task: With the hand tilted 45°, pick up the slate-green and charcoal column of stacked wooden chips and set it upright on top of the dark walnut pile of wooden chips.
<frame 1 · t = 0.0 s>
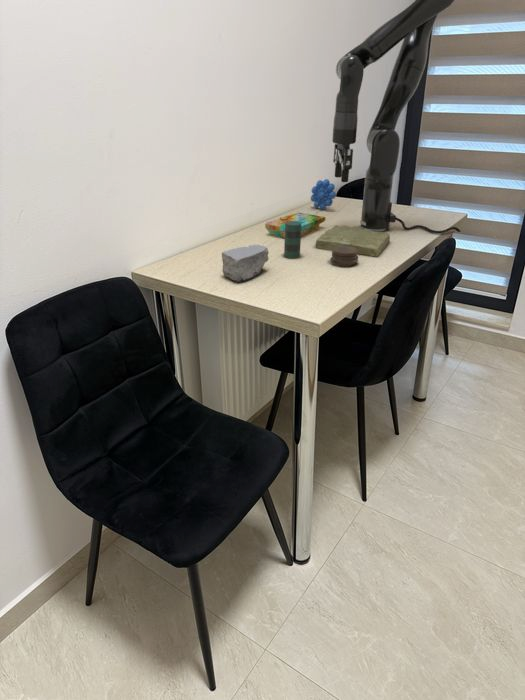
hand: (341, 179, 173), 17 cm above the table, tool pointing down, fingers open, 8 cm apart
chip column: (292, 255, 157), on the table
puzzle game: (295, 231, 180), on the table
chip pile: (344, 262, 151), on the table
decorative stone: (244, 274, 143), on the table
decorative tile: (354, 245, 167), on the table
grapes: (323, 209, 208), on the table
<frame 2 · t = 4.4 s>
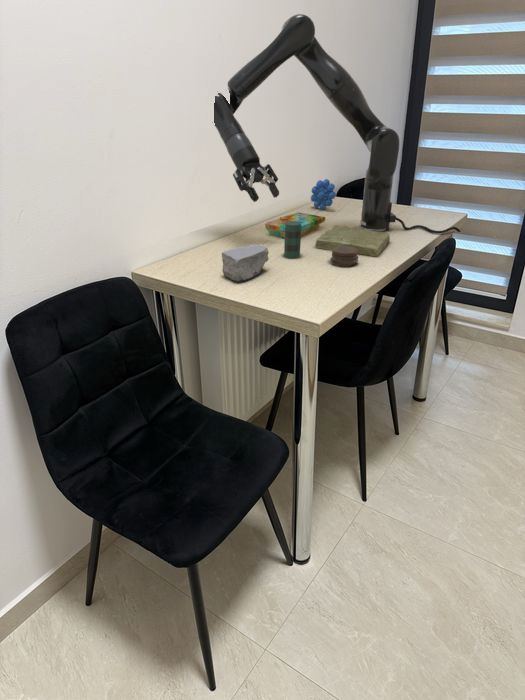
hand: (267, 198, 157), 15 cm above the table, tool tilted 45°, fingers open, 8 cm apart
nothing on the table moved.
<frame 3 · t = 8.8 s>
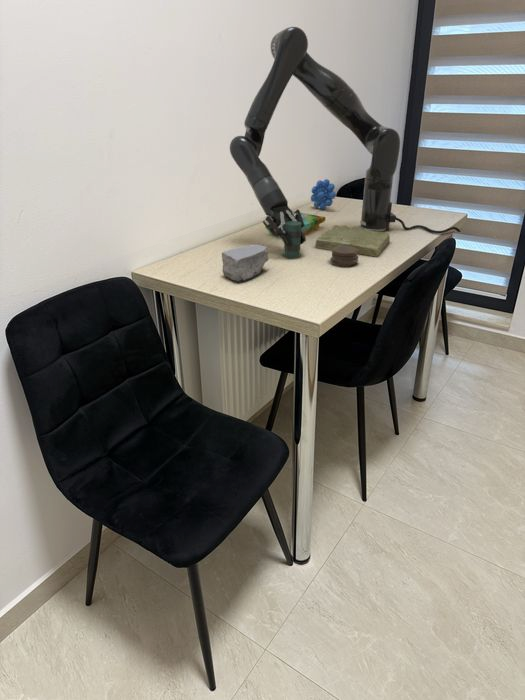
hand: (297, 243, 154), 4 cm above the table, tool tilted 45°, fingers closed on chip column, 5 cm apart
chip column: (292, 255, 157), on the table, touching gripper
everything else where it was.
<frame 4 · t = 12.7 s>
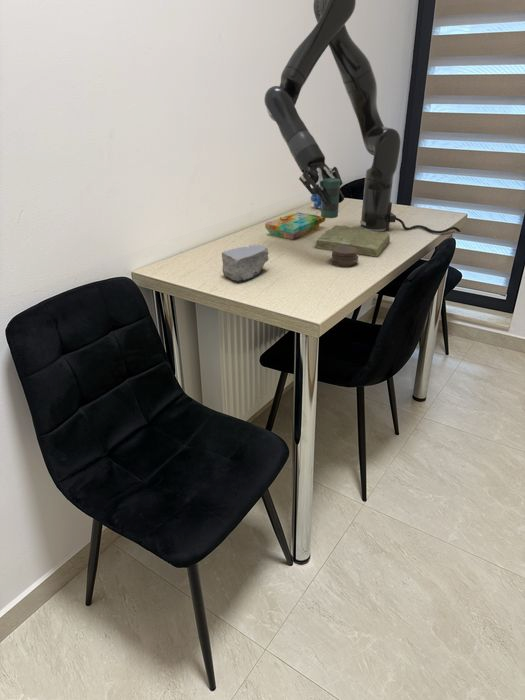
hand: (335, 202, 144), 17 cm above the table, tool tilted 45°, fingers closed on chip column, 5 cm apart
chip column: (329, 216, 147), point 13 cm above the table, touching gripper
everything else where it was.
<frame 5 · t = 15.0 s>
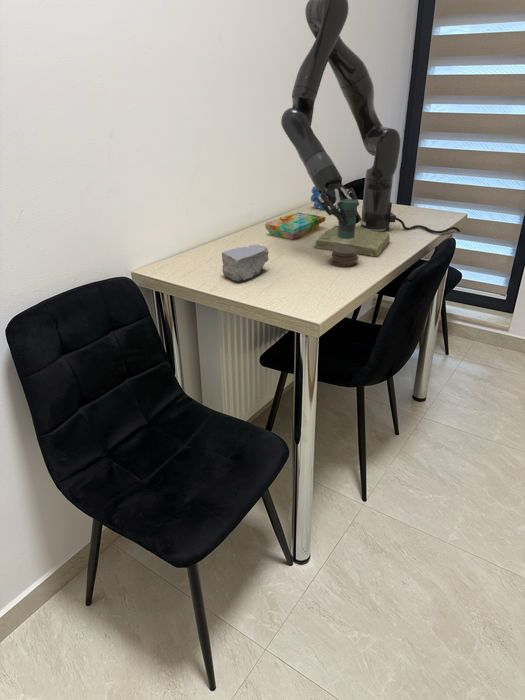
hand: (352, 223, 144), 12 cm above the table, tool tilted 45°, fingers closed on chip column, 5 cm apart
chip column: (345, 236, 148), point 8 cm above the table, touching gripper
everything else where it was.
when the fingers open (8 cm above the table, at t = 16.6 s): chip column stays where it is, resting on chip pile.
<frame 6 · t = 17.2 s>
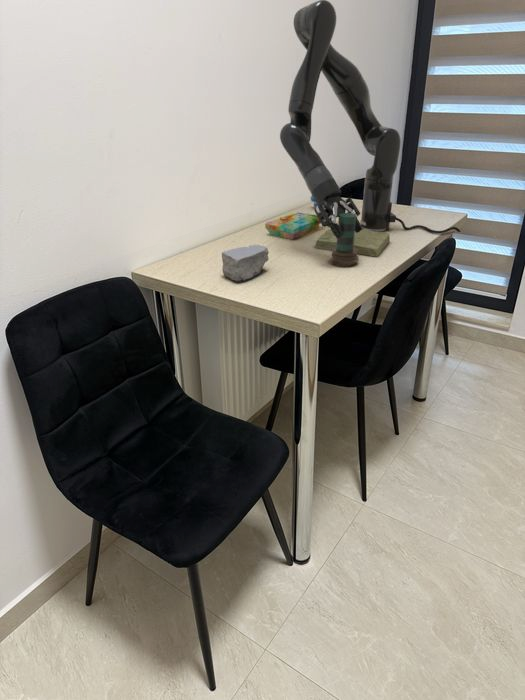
hand: (350, 233, 146), 9 cm above the table, tool tilted 45°, fingers open, 8 cm apart
chip column: (344, 249, 149), point 4 cm above the table, touching chip pile
everything else where it was.
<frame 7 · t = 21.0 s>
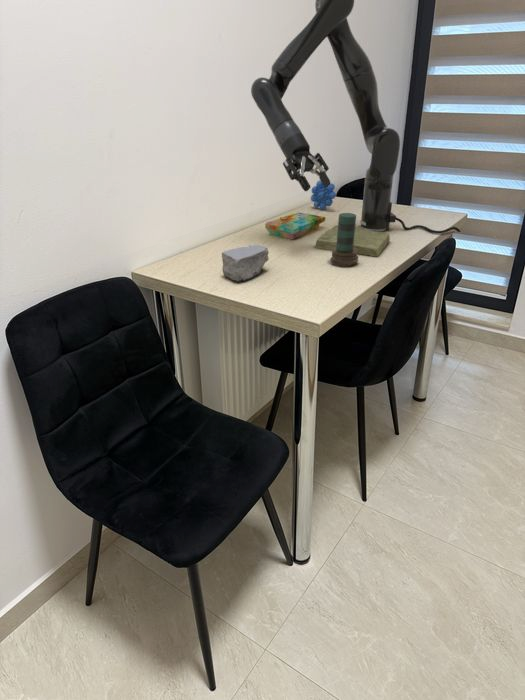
hand: (318, 187, 149), 20 cm above the table, tool tilted 45°, fingers open, 8 cm apart
nothing on the table moved.
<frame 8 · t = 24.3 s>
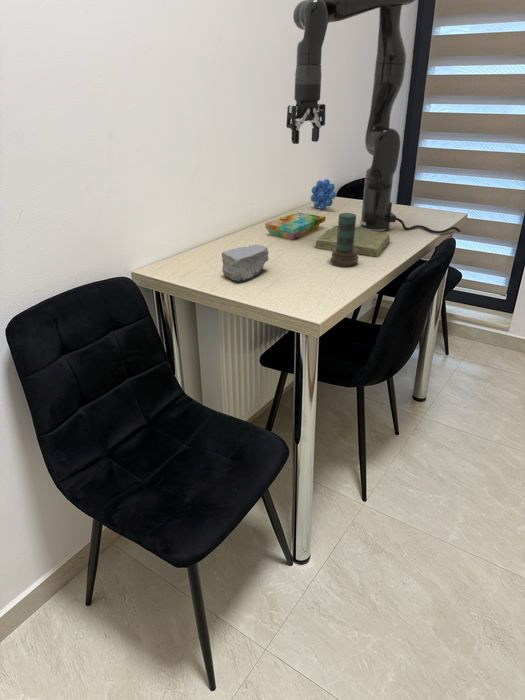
hand: (305, 142, 157), 30 cm above the table, tool pointing down, fingers open, 8 cm apart
nothing on the table moved.
at the end: chip column 0.1 cm off-centre on the chip pile, point 4.0 cm above the chip pile's base; chip column tilted 0°; the gripper is holding nothing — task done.
